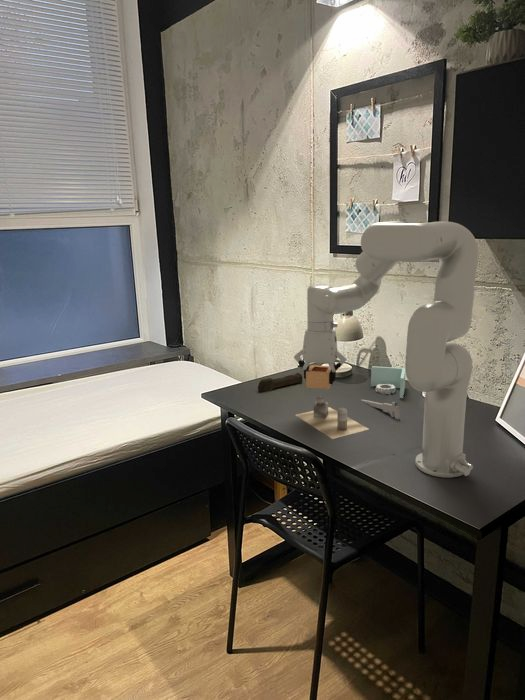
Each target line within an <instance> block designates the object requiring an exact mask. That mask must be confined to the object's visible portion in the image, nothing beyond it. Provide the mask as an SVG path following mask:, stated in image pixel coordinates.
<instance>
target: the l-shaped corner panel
mask: <svg viewBox="0 0 525 700" xmlns="http://www.w3.org/2000/svg"><path fill="white" fill-rule="evenodd" d="M370 369H371V370H370V371H371V372H370V374H371V376H370V387H374V386H376V387H375V389H374V390H375V392H376V393H377V392H378V393H377V394H379V393H381V394H380V395H386V394H388V395H392V394H395V393H396V390H397V389H399V399H400V398H403V399H404V396H405V395H404V394H405V389H406V370H405V367H393V366H391V367H390V366H375V365H373V366H371V368H370ZM394 392H395V393H394ZM391 393H392V394H391ZM403 395H404V396H403Z"/></svg>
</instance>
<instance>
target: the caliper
mask: <svg viewBox="0 0 525 700" xmlns="http://www.w3.org/2000/svg"><path fill="white" fill-rule="evenodd" d="M360 402H363V403H364V404H366V405H368V406H370V407H372V408H376V409H381V410H382V411H383V412H384V413H389V414H390V417H391V418H395V420H400V418H401V417H400V415H401V412H400V406H399V405H398V401H396V402H395V401H391V403H387V402H384V403H381V402H376V401H372V400H368V399H367V400H366V399H360Z"/></svg>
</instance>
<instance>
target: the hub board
mask: <svg viewBox="0 0 525 700" xmlns="http://www.w3.org/2000/svg"><path fill="white" fill-rule="evenodd" d="M295 416H296V417H297V418H299V419H300V420H302V421H303V422H306V424H308V425H309V426H312V427H313V428H315V429H316V430H317V431H319V432H321V433H322V434H323V435H325V436H326V437H329V438H330V439H331V440H334V439H339V438H343V437H346V436H349V435H353V434H358V433H362V432H365V431H369V430H370V429H369V428H368V427H366V426H364V425H363V424H361V423H359V422H358V421H356V420H354V419H352V418H350V417H349V416H348V409H347V408H345V407H339V408H337V409H333V408H332V407H330V406H329V402H327V401H326V397H325V396H316V401H315V403H314V404H313V410H311V411H307V412H302V413H297V414H295Z"/></svg>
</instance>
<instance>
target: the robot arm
mask: <svg viewBox="0 0 525 700" xmlns="http://www.w3.org/2000/svg"><path fill="white" fill-rule="evenodd" d="M360 248H361V250H362V252H361V253H360V254H359V255H358V256H357V258H356V259H355V269H356V270H357V272H358V273H359V276H358V277H357V278H356V279H355V280H354V281H353V282H352V283H351V284H346V285H339V286H335V287H333V286H331V285H330V284H326V283H325V284H324V283H317V284H316V283H315V284H312V285H311V284H310V285H309V286H308V288H307V290H306V291H307V292H306V295H307V299H306V300H307V301H306V302H307V305H306V306H307V309H306V310H307V311H306V312H307V319H306V320H307V321H306V323H307V328H306V329H304V330H305V331H304V336H303V344H302V349H301V350H300V351H298V352H297V353H296V354H295V355H294V356H293V359H294V360H295V361H296V362H297V364H298V365H299V366H300V367H301V368H302V370H303V379H304V380H306V371H307V370H308V369H309V367H310V364H311V363H312V364H327V365H328V366H330V368H331V372H330V384H332V385H333V384H334V383H335V382H336V380H337V370H339V369H340V367H342V366H343V365H344V364H345V363H346V362H347V358H346V357H345V356H344V355H343V354H342V353H341V352H340V351H339V350H338V340H337V339H338V338H337V333H336V332H337V331H336V329H334V328H338V322H336V321H335V322H334V318H333V317H334V316H333V315H338V314H339V315H340V314H343V313H347V312H352V311H355V310H356V311H357V310H359V309H361V308H362V307H364V306H365V305H367V304H368V303H369V302H370V300H371V299H373V297H374V296H376V295H377V293H378V292H379V290H380V287H381V284H382V279H383V278H384V277H385V276H386V275H387V274H388V273H389V272H390V271H391V269H393V268H394V267H395V266H396V265H397V264H398V263H399V262H401V263H402V262H404V263H424V262H430V261H436V260H440V261H441V265H440V267H439V269H438V271H437V274H436V278H435V283H434V295H433V300H432V302H429V303H426V304H423V305H421V306H420V307H418V308H417V309H416V310H415V311H414V312H413V313H412V315H410V318H409V322H408V325H407V336H406V350H405V362H404V368H405V377H406V379H407V381H408V383H409V384H410V386H411V387H412V388H413V389H415V390H417V391H418V392H422V393H425V395H424V404H423V405H424V406H423V427H422V428H423V429H422V444H421V445H422V446H421V447H422V448H421V449H422V451H421V453H419V454H417V455H416V456H415V458H414V460H415V461H414V464H415V466H416V468H418V470H419V471H421V472H422V473H425V474H428V475H429V476H433V477H438V478H446V479H447V478H457V477H461V476H463V475H464V476H465V477H467V476H469V475H470V473H471V471H472V470H473V469H474V465H473V464H471V463H470V462H468V461H467V460H466V458H467V457H466V456H467V455H466V454H465V453H464V452H463V449H464V437H465V435H464V434H465V420H466V419H465V417H466V410H467V409H466V408H467V397H468V396H467V395H468V391H469V390H468V389H469V385H470V381H471V377H472V373H473V358H472V355H471V354H470V351H469V350H468V349H467V348H466V347H464V346H463V345H461V344H460V343H456V342H452V341H454V340H458V339H460V338H462V337H464V336H466V334H468V332H469V331H470V328H471V325H472V319H473V318H472V317H473V307H474V297H475V289H476V288H475V285H476V277H477V276H476V275H477V272H478V271H477V270H478V264H479V254H480V253H479V246H478V243H477V240H476V238H475V236H474V235H473V233H472V232H471V231H470V230H469V228H467V227H465V226H464V225H462V224H460V223H457V222H453V221H445V220H444V221H443V220H442V221H432V222H421V223H419V222H418V223H417V222H416V223H406V222H403V221H397V220H395V221H394V220H393V221H383V222H382V221H380V222H375V223H372V224H370V225H369V226H367V227H366V228H365V230H364V231H363V233H362V235H361V238H360ZM301 357H302V358H301ZM337 359H339V361H338V362H337V363H336V360H337Z"/></svg>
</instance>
